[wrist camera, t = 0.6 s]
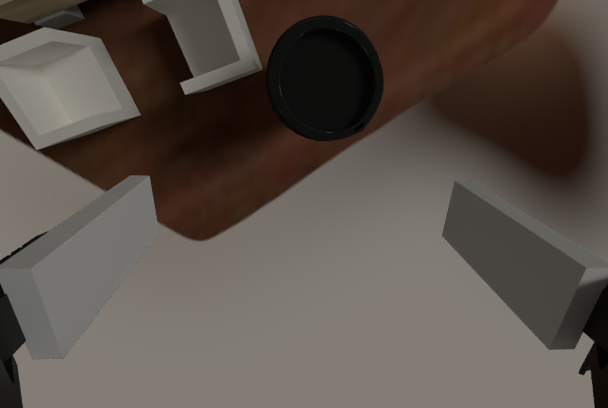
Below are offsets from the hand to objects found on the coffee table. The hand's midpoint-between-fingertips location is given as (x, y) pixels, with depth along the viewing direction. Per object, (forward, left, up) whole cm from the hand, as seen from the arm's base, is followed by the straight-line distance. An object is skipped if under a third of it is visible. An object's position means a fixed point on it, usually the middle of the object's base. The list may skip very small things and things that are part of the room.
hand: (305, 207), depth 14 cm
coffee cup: (-4, +3, -25) cm, 25 cm away
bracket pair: (-11, -12, -24) cm, 29 cm away
